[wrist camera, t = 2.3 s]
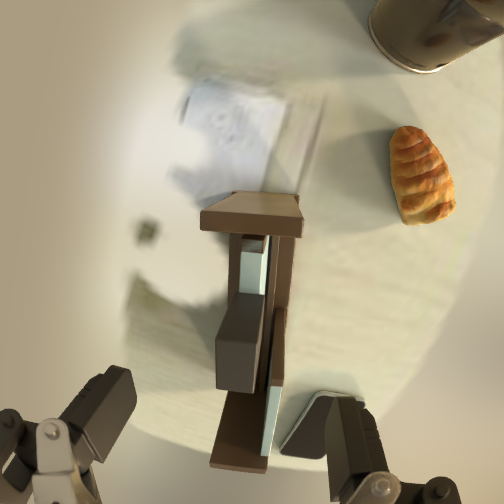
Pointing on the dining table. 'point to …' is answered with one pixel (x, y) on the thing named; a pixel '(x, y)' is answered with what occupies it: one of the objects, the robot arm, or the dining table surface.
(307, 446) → the smartphone
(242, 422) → the window frame
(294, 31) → the dining table surface
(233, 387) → the sash
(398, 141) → the pastry
